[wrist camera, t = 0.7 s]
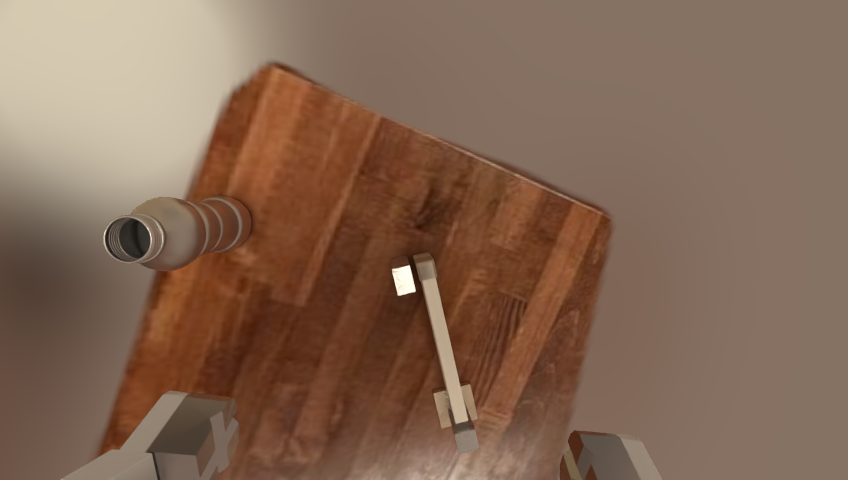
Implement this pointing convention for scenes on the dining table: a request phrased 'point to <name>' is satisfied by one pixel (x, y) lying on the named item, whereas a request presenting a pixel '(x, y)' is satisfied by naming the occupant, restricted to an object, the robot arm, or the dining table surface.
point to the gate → (440, 334)
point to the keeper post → (402, 275)
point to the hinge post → (461, 431)
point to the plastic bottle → (177, 231)
